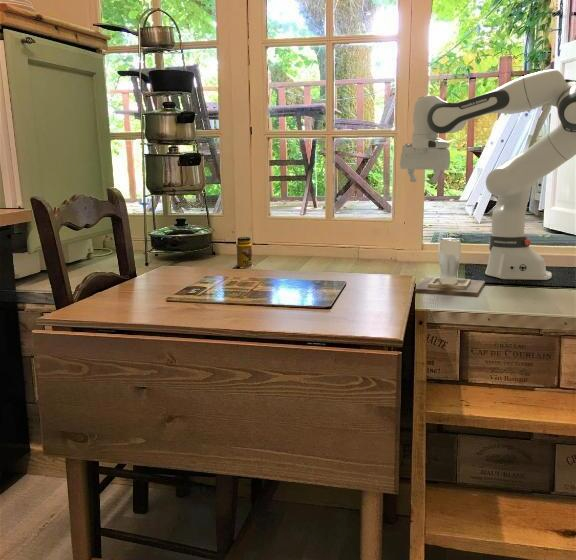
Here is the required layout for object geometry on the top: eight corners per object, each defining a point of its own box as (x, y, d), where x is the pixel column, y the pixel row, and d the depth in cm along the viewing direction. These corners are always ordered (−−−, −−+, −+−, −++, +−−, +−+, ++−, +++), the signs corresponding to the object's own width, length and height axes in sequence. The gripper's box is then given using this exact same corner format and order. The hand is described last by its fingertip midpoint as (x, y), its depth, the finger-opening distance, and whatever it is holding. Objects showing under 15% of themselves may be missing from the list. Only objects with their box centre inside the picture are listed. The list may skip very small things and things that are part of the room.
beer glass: (445, 287, 199) (446, 241, 196) (433, 283, 205) (434, 238, 203) (464, 286, 201) (465, 240, 198) (451, 282, 208) (453, 237, 205)
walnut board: (484, 284, 209) (485, 277, 209) (477, 296, 191) (477, 289, 191) (425, 280, 217) (425, 274, 217) (412, 292, 199) (412, 285, 199)
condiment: (252, 268, 248) (251, 238, 246) (230, 268, 249) (229, 238, 247) (254, 265, 256) (253, 236, 253) (233, 265, 256) (232, 236, 254)
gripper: (396, 143, 227) (395, 181, 230) (441, 142, 211) (440, 183, 214) (408, 143, 231) (407, 181, 234) (453, 142, 215) (451, 183, 218)
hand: (423, 182), depth 224 cm, fingers open, 8 cm apart
